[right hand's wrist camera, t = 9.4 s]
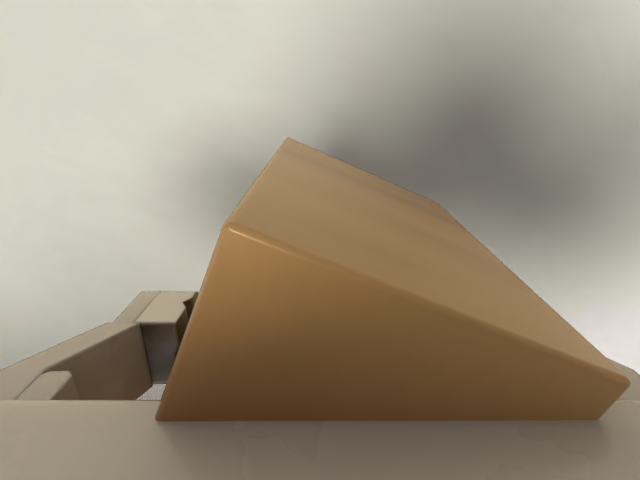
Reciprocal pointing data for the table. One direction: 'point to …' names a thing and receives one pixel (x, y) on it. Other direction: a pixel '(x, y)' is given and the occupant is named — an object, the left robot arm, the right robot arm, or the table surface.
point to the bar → (370, 314)
